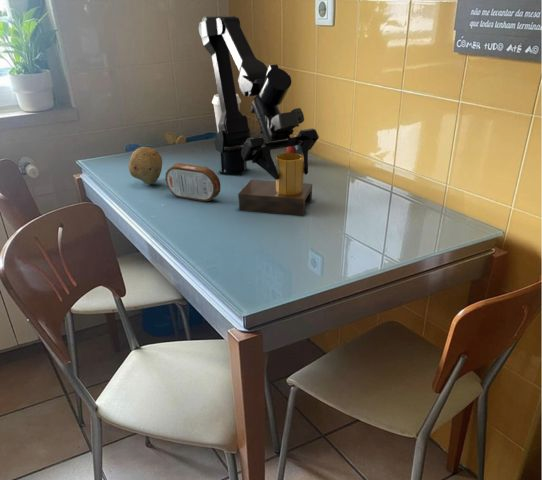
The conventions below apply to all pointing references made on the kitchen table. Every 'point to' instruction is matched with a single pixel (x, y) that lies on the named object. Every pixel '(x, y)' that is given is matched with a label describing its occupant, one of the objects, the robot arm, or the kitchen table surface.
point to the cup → (289, 173)
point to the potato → (145, 165)
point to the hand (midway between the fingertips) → (292, 176)
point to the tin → (193, 182)
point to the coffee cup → (218, 108)
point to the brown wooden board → (273, 198)
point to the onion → (291, 148)
